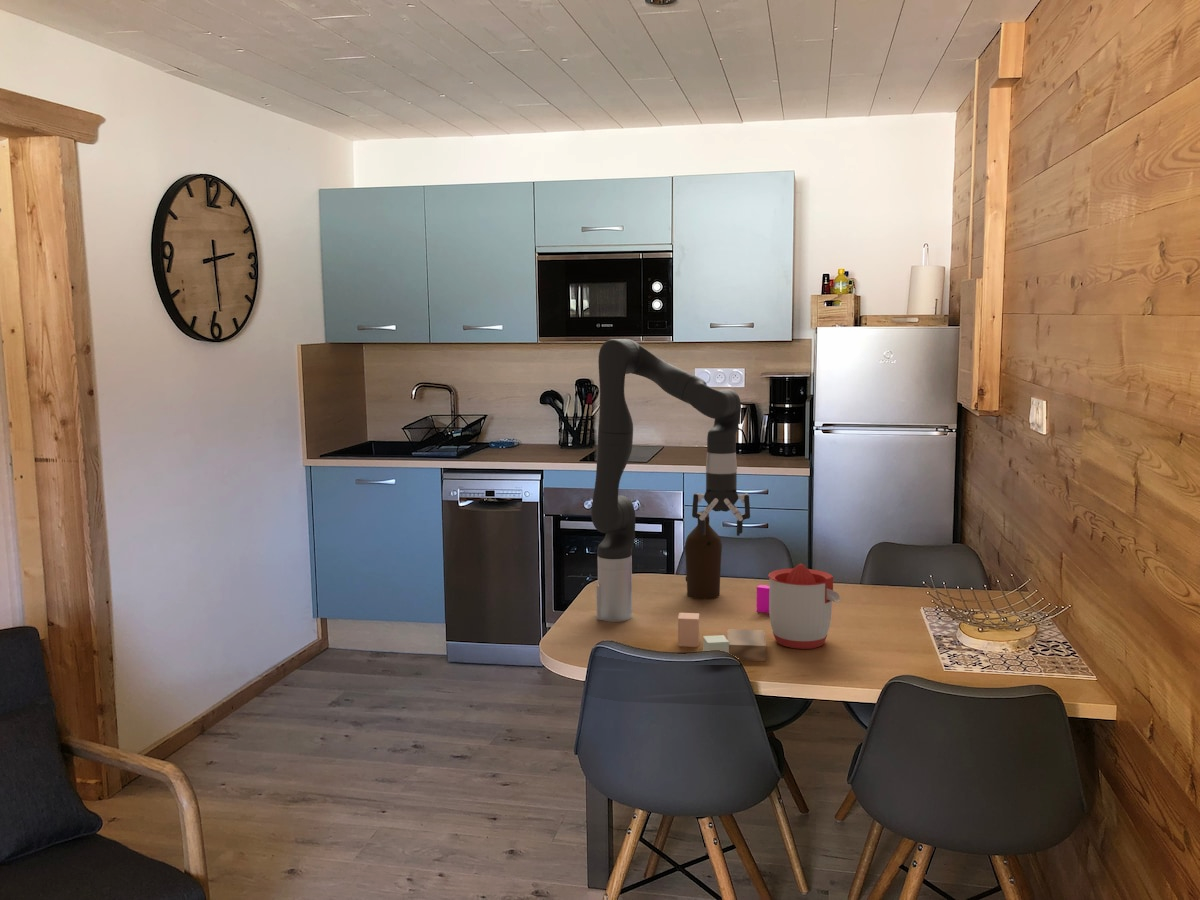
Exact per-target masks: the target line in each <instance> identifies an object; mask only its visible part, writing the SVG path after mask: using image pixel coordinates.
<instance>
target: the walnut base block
mask: <svg viewBox="0 0 1200 900" xmlns="http://www.w3.org/2000/svg"><path fill="white" fill-rule="evenodd" d="M726 631H727V632H726V633H727V635H726V639H727V640H728V641H729V653H730V654H732V655H734V656H736V657H737V658H739V660H738V661H753V662H754V661H755V662H756V661H758V662H763V661H764V662H767V641H766V634H765V632H766V631H765V629H740V628H738V629H736V628H732V629H731V628H728V629H727V628H726Z"/></svg>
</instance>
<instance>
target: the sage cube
mask: <svg viewBox="0 0 1200 900" xmlns="http://www.w3.org/2000/svg"><path fill="white" fill-rule="evenodd" d="M710 650H720V651H725V652H728V653H729V641H728V640H727V636H726V635H724V634H720V635H719V634H718V635H703V636H702V652H703V651H710Z"/></svg>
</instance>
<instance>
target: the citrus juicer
mask: <svg viewBox="0 0 1200 900" xmlns="http://www.w3.org/2000/svg"><path fill="white" fill-rule="evenodd" d="M767 577H768V578H769V584H768V586H769V613H768V614H769V621H770V626H771V629H772V634H773V636H774V639H775V642H776V643H777V644H779V645H781V646H784V647H787V648H791V649H802V650H804V649H805V650H811V649H815V648H820V647H821V646H823V645H824V644H825V641H826V639H827V637H828V634H829V633H828V632H829V630H830V627H831V626H830V625H831V621H832V611H833V610H832V608H833V607H832V605H833V603H832V602H834V603H839V602H840V600H841V598H840V594H839V593H838V592H837V591H835V590H834V576H833V575H832V574H830V573H828V572H826V571H823V570H817V569H811V568H807V566H806V565H804V564H803V563H798V564H797V565H796V566H795V567H793V568H792V567H791V568H781V569H775V570H773V571H771V572H769V574H768V575H767Z"/></svg>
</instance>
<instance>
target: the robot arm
mask: <svg viewBox="0 0 1200 900" xmlns="http://www.w3.org/2000/svg"><path fill="white" fill-rule="evenodd" d="M597 362H598V377H599V379H598V380H599V413H598V414H599V417H598V431H597V454H596V455H597V456H596V473H595V483H594V489H593V490H594V491H593V497H592V504H591V512H590V513H591V522H592V524H593V527H594V528H595V530H596V531H598V532H600V533H602V534H605V536H604V538H603V539H602V540H601V542H600V543H599V544H598V546H597V550H596V551H597V554H596V555H597V584H596V620H599V621H603V622H607V623H608V622H609V623H620V622H621V623H622V622H625V621H626V622H627V621H629V620H631V619H632V618H633V578H632V577H633V572H632V570H633V567H632V566H633V564H632V563H633V562H632V561H633V559H632V555H633V554H632V551H633V547H634V544H635V542H636V541H635V538H636V510H635V507H634V504H633V502H632V501H631V500H630V498H629V497H628V496H625V495H619V487H620V483H621V482H620V481H621V478H622V476H623V473H624V470H625V468H626V466H627V464H628V462H629V460H630V457H631V454H632V450H633V440H634V439H633V438H634V423H633V418H632V415H631V413H630V410H629V406H628V404H627V401H626V397H625V381H626V380H625V379H626V375H628V374H631V375H632V374H633V375H635V376H636V375H637V376H640V377H643V378H646V379H648V380H650V381H652V382H653V383H655V384H656V385H657V386H658V387H659V388H660V389H662V390H663V391H664V392H665V393H667V394H668V395H670V396H672V397H674V398H675V399H677V400H680V401H681V402H684V403H686V404H689V405H691V406H692V407H693V408H694V409H695V410H697V411H698V412H699V413H701V414H702V415H703V416H706V417H708V418H711V419H713V421H714V422H713V426H712V428H711V429H709V430H708V432H707V436H706V437H707V439H706V441H707V442H706V443H707V444H706V459H705V493H698V492H694V493H693V496H692V497H693V498H692V510H691V516H692V518H694V519H697V520H698V519H699V531H700V533H702V535H705V519H704V518H705V517H706V516H707V515H708V514H709V515H710V512H711V511H714V512H728V511H730V512H731V513H732V514H733V515H734V516H735V518H736V519H737V520H736V536H737V537H740V534H742V533H743V522H744V521H745V520H748V519H750V518H751V509H750V506H751V505H750V504H751V503H750V495H749V493H747V492H746V493H744V494H738V492H737V489H738V488H737V485H738V484H737V482H738V479H737V477H738V476H737V473H738V472H737V470H738V466H737V465H738V464H737V463H738V461H737V449H736V448H737V439H736V438H737V437H736V436H737V431H738V427H739V424H740V418H741V412H742V404H741V403H742V402H741V398H740V396H739V395H738V393H737V392H736V391H735V390H734V389H729V388H725V389H724V388H723V389H716V388H712V387H711V386H708V385H707V383H706V381H705V380H704V379H702V378H700V377H698V376H696V375H694V374H692V373H690V372H688V371H686V370H684V369H681V368H680V367H678V366H675V365H673V364H671V363H669V362H667V361H666V360H663V358H660V357H658V356H657V355H655V354H654V353H652V352H651V351H649V350H648V349H647V348H645V347H644V346H642V345H641V344H639V343H638V342H636V341H635V340H632V339H630V338H629V339H628V338H612V339H608V340H606V341H604V343H602V345H601V347H600V349H599V352H598V361H597ZM703 499H704V501H705V502H706V504H707V505H706V506H705V508H704V509H703V510H702V511H703V512H702V513H698V512H699V511H698V510H699V509H698V508H699V507H698V506H699V503H701V502H702V500H703ZM738 500H740V501H741V503H742V504H744V513H741V512H740V511H739V509H738V508H737V506H736V505H735V504H736V503H737V502H738Z"/></svg>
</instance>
